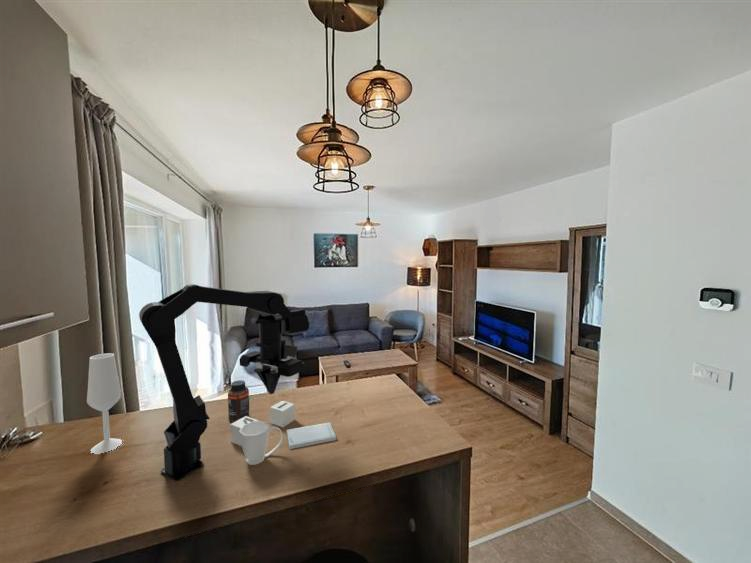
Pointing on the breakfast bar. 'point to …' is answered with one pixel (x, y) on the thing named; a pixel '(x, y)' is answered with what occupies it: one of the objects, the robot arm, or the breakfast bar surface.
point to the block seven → (236, 428)
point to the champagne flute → (103, 395)
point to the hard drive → (310, 435)
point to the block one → (282, 413)
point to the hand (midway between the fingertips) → (271, 393)
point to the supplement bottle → (238, 401)
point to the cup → (256, 441)
